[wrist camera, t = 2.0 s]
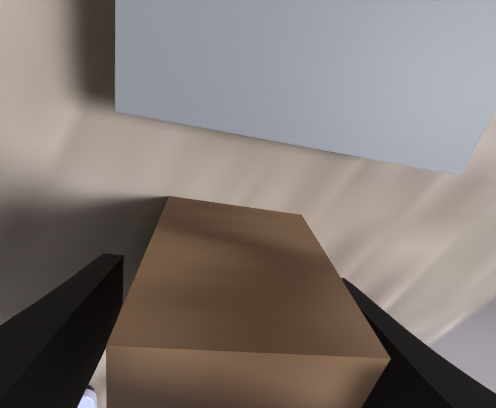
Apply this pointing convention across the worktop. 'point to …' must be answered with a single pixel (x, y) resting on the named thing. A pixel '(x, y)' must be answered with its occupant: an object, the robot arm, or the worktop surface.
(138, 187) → the worktop surface
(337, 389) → the walnut cube
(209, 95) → the gray slab
